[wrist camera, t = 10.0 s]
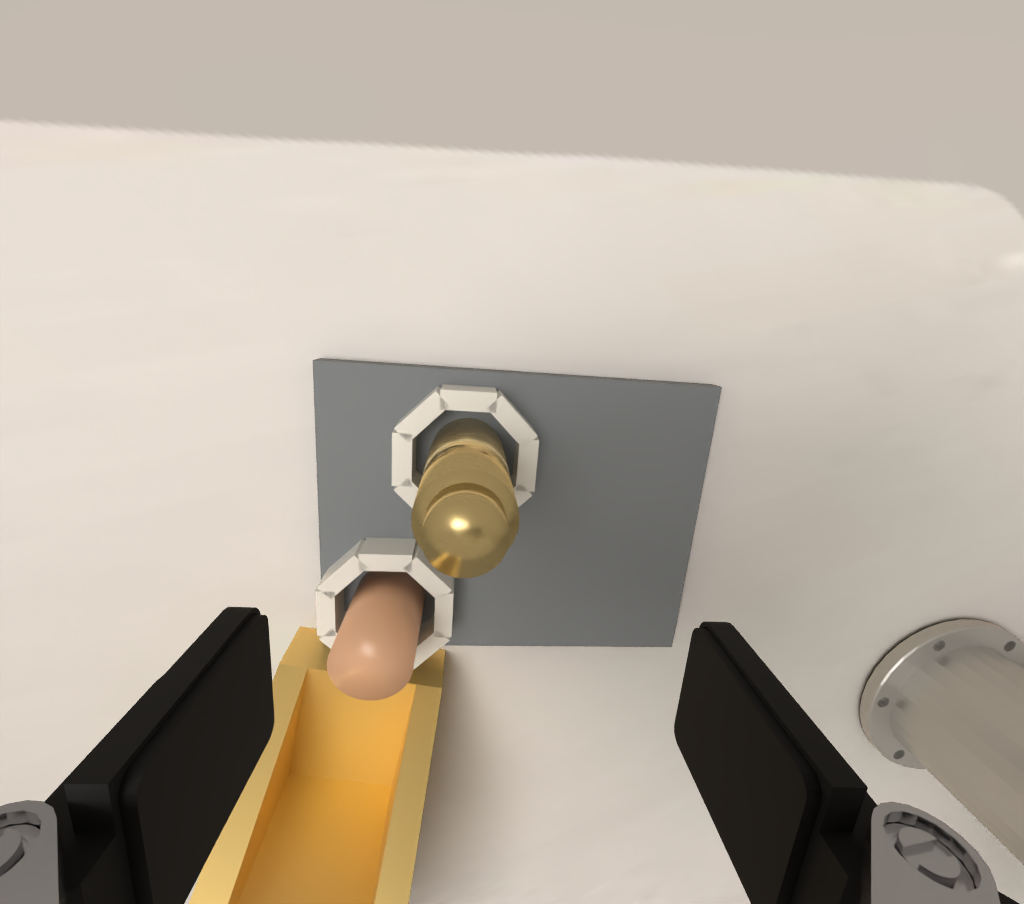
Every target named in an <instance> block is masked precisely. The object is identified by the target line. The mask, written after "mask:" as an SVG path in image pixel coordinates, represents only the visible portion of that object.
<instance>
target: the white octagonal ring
mask: <svg viewBox="0 0 1024 904" xmlns="http://www.w3.org/2000/svg"><path fill="white" fill-rule="evenodd" d="M445 410H454V411H471V412H489V413H491V414H492V415H493V416H494V417H495V418H496V419H497V420H498V421H499V423H500V424H501V425H502V426H503V427H504V428H505V429H506V430H507V431H508V433H509V434H510V435H511V436H512V437H513V438H514V439H515V453H514V465H513V474H512V475H511V476H510V477H511V481H512V485H513V489H514V493H515V497H516V501H517V505H518V507H519V506H521V505H522V504H523V503H524V502H525V501H527V500H528V499H529V498H530V497H531V496H532V493H531V492H535V481H536V470H537V459H538V448H539V439H538V437H537V436H538V435H537V434H536V432H535V430H534V429H533V427H532V426H531V425H530V424H529V422H528V421H527V420H526V419H525V418H524V417H523V416H522V414H521V413H520V412H519V411H518V410H517V409H516V408H515V406H514V405H513V404H512V403H511V402H510V401H509V400H508V399H507V397H506V396H505V395H504V394H503V393H502V392H501V391H500V389H499V390H498V391H497V390H496V388H495V387H481V386H465V385H449V384H442V387H441V388H440V387H439V386H437V387H436V388H435V389H434V390H433V391H432V392H431V393H429V394H428V395H427V396H426V397H425V398H424V399H423V400H422V401H421V402H419V403H418V404H417V405H416V406H415V407H414V408H413V409H412V410H410V411H409V412H408V413H407V414H406V415H405V416H404V417H403V418H402V419H400V421H399V422H398V423H397V425H396V426H395V428H394V431H393V432H392V486H395V488H394V491H395V492H396V493H397V494H398V495H399V496H400V497H401V498H402V499H403V500H404V501H405V502H406V503H407V504H408V505H409V506H410V507H411V508H412V509H413V505H414V501H415V498H416V495H417V491H418V488H419V485H420V481H421V478H422V475H421V474H420V473H419V472H418V471H417V470H416V441H417V435H418V434H419V433H420V432H421V431H422V430H423V429H425V428H426V427H427V426H428V425H429V424H430V423H431V422H432V421H434V420H435V419H436V418H437V417H438V416H439V415H440V414H441V413H443V412H444V411H445Z"/></svg>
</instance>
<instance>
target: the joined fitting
mask: <svg viewBox="0 0 1024 904" xmlns="http://www.w3.org/2000/svg"><path fill="white" fill-rule="evenodd" d="M363 571H368V572H367V573H366V574H365V575H364V576H363V577H362V579H361V580H360V582H359V584H358V586H357V589H356V591H355V593H354V596H353V598H352V600H351V603H350V605H349V608H348V610H347V612H346V611H345V599H344V588H345V587H346V586H347V585H348V584H349V583H351V582H352V581H353V580H354V579H355V578H356V577H358V576H359V575H360V574H361V573H362V572H363ZM454 578H455V577H451V576H448V575H446V574H443V573H441V572H440V571H438V570H437V569H436V568H434V567H433V566H432V565H431V564H430V563H429V561H428V560H427V559H426V557H425V555H424V553H423V550H422V549H421V548H420V546H419V545H418V543H416V540H415V539H411V538H378V537H366V539H365V540H363V539H361V540H360V541H359V542H358V543H357V544H356V545H354V546H353V547H352V548H351V549H350V550H349V551H348V552H346V553H345V554H344V555H343V556H342V557H341V558H339V559H338V560H337V561H336V562H335V563H334V564H333V565H331V566H330V567H329V568H328V569H327V571H326V573H325V574H324V576H323V578H322V580H321V581H320V583H319V585H318V587H317V589H316V591H315V599H316V623H317V636H320V638H319V640H320V641H321V642H323V643H324V644H325V645H326V646H328V647H329V648H330V649H331V650H330V652H329V655H328V659H327V671H328V674H329V677H330V679H331V681H332V682H333V684H334V685H335V686H336V687H337V688H338V689H339V690H340V691H342V692H343V693H344V694H346V695H348V696H350V697H353V698H356V699H360V700H368V701H373V700H381V699H385V698H388V697H391V696H393V695H395V694H396V693H398V692H399V691H401V690H402V689H403V688H404V687H405V686H406V685H407V683H408V682H409V680H410V678H411V676H412V672H413V669H415V668H416V667H418V666H419V665H420V664H421V663H423V662H424V661H425V660H426V659H428V658H429V657H430V656H431V655H432V654H434V653H435V652H436V651H437V650H439V649H440V648H441V647H442V646H444V645H445V644H446V643H447V642H449V641H450V637H451V636H452V620H453V600H454ZM424 588H425V589H426V590H427V591H428V592H429V593H430V594H431V595H432V596H433V597H434V598H435V613H434V614H433V615H432V616H431V617H429V618H428V619H427V620H426V621H425V622H423V623H422V624H421V619H422V613H423V607H424V601H425V589H424Z"/></svg>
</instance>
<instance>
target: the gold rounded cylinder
mask: <svg viewBox="0 0 1024 904" xmlns="http://www.w3.org/2000/svg"><path fill="white" fill-rule="evenodd" d="M519 518H520V516H519V509H518V505H517V501H516V497H515V493H514V489H513V485H512V481H511V477H510V473H509V469H508V465H507V462H506V458H505V454H504V450H503V446H502V442H501V440H500V437H499V436H498V434H497V433H496V431H495V430H494V429H493V428H492V427H491V426H490V425H488V424H487V423H485V422H483V421H481V420H478V419H474V418H460V419H456V420H453V421H451V422H449V423H447V424H445V425H444V426H443V427H442V428H441V429H440V430H439V431H438V432H437V434H436V435H435V437H434V439H433V441H432V444H431V448H430V451H429V454H428V458H427V461H426V465H425V468H424V471H423V475H422V478H421V481H420V485H419V488H418V491H417V495H416V498H415V501H414V505H413V509H412V513H411V527H412V531H413V535H414V537H415V540H416V541H417V543H418V545H419V546H420V548H421V549H422V550H423V553H424V555H425V557H426V559H427V560H428V561H429V563H430V564H431V565H432V566H433V567H434V568H436V569H437V570H438V571H440V572H441V573H443V574H446V575H448V576H451V577H455V578H474V577H478V576H481V575H483V574H486V573H488V572H489V571H491V570H492V569H494V568H495V567H496V566H497V565H498V564H499V563H500V562H501V561H502V559H503V558H504V556H505V554H506V552H507V550H508V549H509V548H510V546H511V545H512V543H513V542H514V540H515V538H516V535H517V532H518V529H519Z"/></svg>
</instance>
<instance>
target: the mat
mask: <svg viewBox="0 0 1024 904" xmlns="http://www.w3.org/2000/svg"><path fill="white" fill-rule="evenodd" d="M313 379H314V406H315V432H316V459H317V485H318V512H319V539H320V565H321V580H322V578H323V576H324V574H325V573H326V571H327V569H328V568H329V567H330V566H331V565H333V564H334V563H335V562H336V561H337V560H338V559H339V558H341V557H342V556H343V555H344V554H345V553H346V552H348V551H349V550H350V549H351V548H352V547H353V546H354V545H356V544H357V543H358V542H359V541H360V540H361V539H363V540H365V539H366V537H378V538H411V539H415V537H414V535H413V531H412V527H411V513H412V508H411V507H410V506H409V505H408V504H407V503H406V502H405V501H404V500H403V499H402V498H401V497H400V496H399V495H398V494H397V493H396V492H395V491H394V488H395V486H392V432H393V431H394V428H395V426H396V425H397V423H398V422H399V421H400V419H402V418H403V417H404V416H405V415H406V414H407V413H408V412H409V411H410V410H412V409H413V408H414V407H415V406H416V405H417V404H418V403H419V402H421V401H422V400H423V399H424V398H425V397H426V396H427V395H428V394H429V393H431V392H432V391H433V390H434V389H435V388H436V387H437V386H439V387H440V388H441V387H442V384H449V385H465V386H481V387H495V388H496V390H497V391H498V390H499V389H500V391H501V392H502V393H503V394H504V395H505V396H506V397H507V399H508V400H509V401H510V402H511V403H512V404H513V405H514V406H515V408H516V409H517V410H518V411H519V412H520V413H521V414H522V416H523V417H524V418H525V419H526V420H527V421H528V422H529V424H530V425H531V426H532V427H533V429H534V430H535V432H536V434H537V435H538V436H537V437H538V439H539V448H538V459H537V470H536V481H535V492H531V493H532V496H531V497H530V498H529V499H528V500H527V501H525V502H524V503H523V504H522V505H521V506H519V507H518V509H519V516H520V518H519V529H518V532H517V535H516V538H515V540H514V542H513V543H512V545H511V546H510V548H509V549H508V550H507V552H506V554H505V556H504V558H503V559H502V561H501V562H500V563H499V564H498V565H497V566H496V567H495V568H494V569H492V570H491V571H489V572H488V573H486V574H483V575H481V576H478V577H474V578H454V600H453V620H452V636H451V637H450V641H449V642H447V643H446V644H445V645H475V646H610V647H672V643H673V638H674V633H675V628H676V623H677V617H678V612H679V607H680V602H681V597H682V591H683V586H684V581H685V576H686V571H687V565H688V560H689V555H690V550H691V545H692V539H693V534H694V529H695V524H696V519H697V513H698V508H699V503H700V498H701V493H702V487H703V482H704V477H705V472H706V466H707V461H708V456H709V451H710V446H711V440H712V435H713V430H714V425H715V420H716V414H717V409H718V404H719V399H720V394H721V388H722V387H719V386H716V385H712V384H699V383H684V382H669V381H654V380H639V379H623V378H608V377H593V376H578V375H563V374H548V373H533V372H518V371H503V370H488V369H473V368H458V367H443V366H427V365H412V364H397V363H382V362H367V361H352V360H337V359H322V358H320V359H316V360H313ZM460 418H474V419H478V420H481V421H483V422H485V423H487V424H488V425H490V426H491V427H492V428H493V429H494V430H495V431H496V433H497V434H498V436H499V437H500V440H501V442H502V446H503V450H504V454H505V458H506V462H507V465H508V469H509V473H510V476H511V475H512V474H513V465H514V453H515V439H514V438H513V437H512V436H511V435H510V434H509V433H508V431H507V430H506V429H505V428H504V427H503V426H502V425H501V424H500V423H499V421H498V420H497V419H496V418H495V417H494V416H493V415H492V414H491V413H489V412H471V411H454V410H445V411H444V412H443V413H441V414H440V415H439V416H438V417H437V418H436V419H435V420H434V421H432V422H431V423H430V424H429V425H428V426H427V427H426V428H425V429H423V430H422V431H421V432H420V433H419V434H418V435H417V441H416V470H417V471H418V472H419V473H420V474H421V475H423V471H424V468H425V465H426V461H427V458H428V454H429V451H430V448H431V444H432V441H433V439H434V437H435V435H436V434H437V432H438V431H439V430H440V429H441V428H442V427H443V426H444V425H445V424H447V423H449V422H451V421H453V420H456V419H460ZM416 543H417V541H416ZM367 572H368V571H363V572H362V573H361V574H360V575H359V576H358V577H356V578H355V579H354V580H353V581H352V582H351V583H349V584H348V585H347V586H346V587H345V588H344V599H345V611H346V612H347V610H348V608H349V605H350V603H351V600H352V598H353V596H354V593H355V591H356V589H357V586H358V584H359V582H360V580H361V579H362V577H363V576H364V575H365V574H366V573H367ZM424 589H425V588H424ZM434 613H435V598H434V597H433V596H432V595H431V594H430V593H429V592H428V591H427V590H426V589H425V601H424V607H423V613H422V619H421V624H422V623H423V622H425V621H426V620H427V619H428V618H429V617H431V616H432V615H433V614H434ZM323 644H324V643H323Z"/></svg>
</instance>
